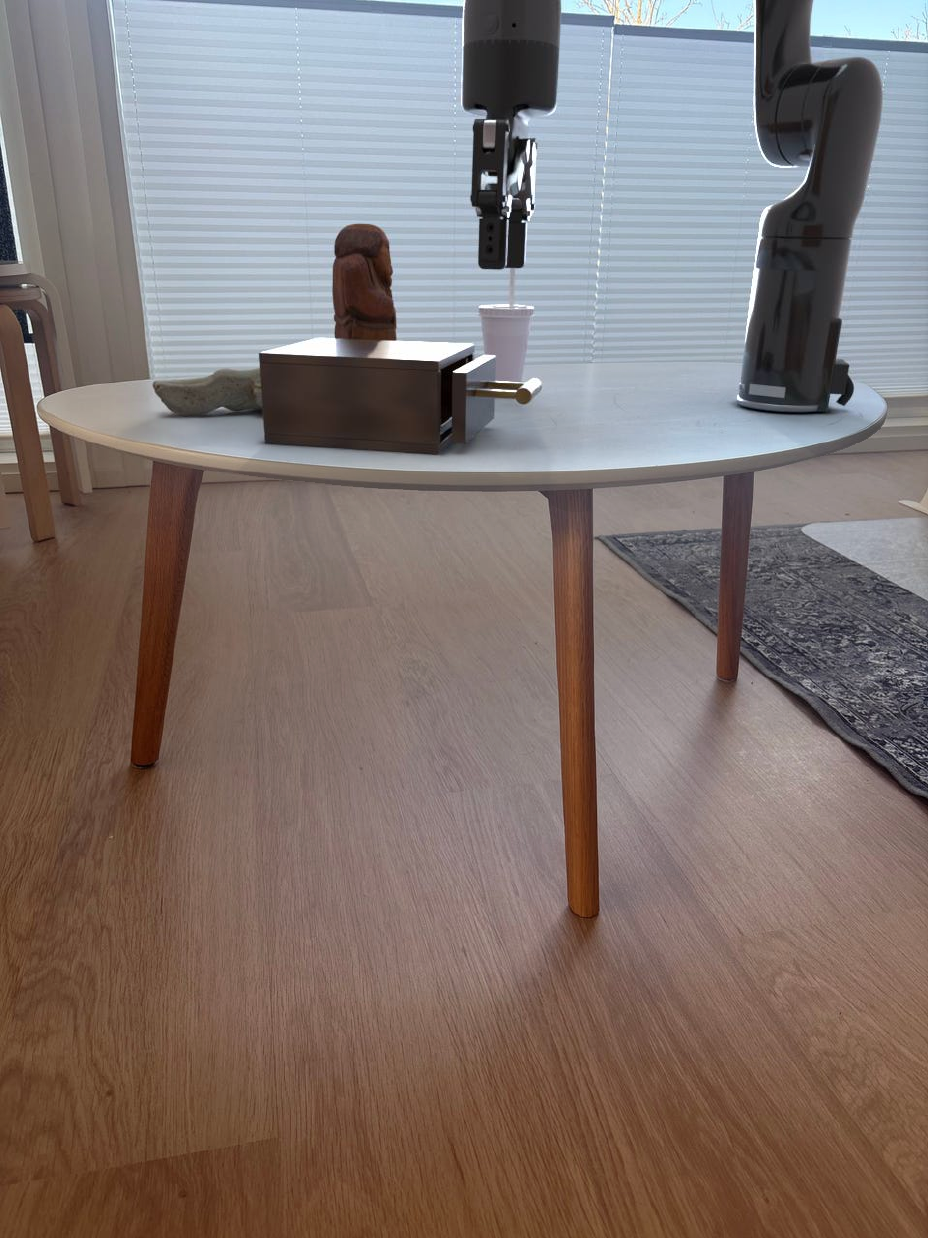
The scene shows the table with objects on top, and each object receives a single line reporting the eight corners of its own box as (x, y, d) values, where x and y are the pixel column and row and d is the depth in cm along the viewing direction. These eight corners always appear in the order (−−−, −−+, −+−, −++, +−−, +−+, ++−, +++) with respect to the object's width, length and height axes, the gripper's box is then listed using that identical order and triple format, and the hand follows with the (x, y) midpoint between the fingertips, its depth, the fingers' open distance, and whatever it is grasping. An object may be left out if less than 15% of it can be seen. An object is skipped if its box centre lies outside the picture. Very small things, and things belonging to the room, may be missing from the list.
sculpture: (160, 430, 89) (315, 411, 93) (150, 379, 88) (308, 362, 91) (159, 421, 96) (304, 404, 100) (150, 373, 94) (297, 357, 98)
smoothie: (527, 399, 105) (532, 266, 100) (471, 396, 106) (473, 265, 101) (534, 391, 111) (540, 265, 105) (481, 388, 112) (484, 264, 107)
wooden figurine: (406, 406, 100) (404, 223, 93) (347, 407, 98) (341, 222, 91) (385, 389, 110) (382, 224, 103) (331, 390, 108) (325, 223, 102)
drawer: (545, 421, 88) (548, 357, 85) (523, 447, 76) (526, 375, 74) (350, 410, 92) (348, 349, 89) (302, 433, 80) (298, 364, 78)
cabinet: (473, 425, 90) (474, 343, 87) (437, 454, 78) (438, 360, 75) (321, 416, 93) (317, 337, 90) (264, 442, 81) (258, 352, 78)
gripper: (544, 22, 65) (532, 271, 71) (571, 60, 77) (559, 268, 84) (440, 24, 66) (437, 268, 72) (483, 61, 79) (478, 266, 85)
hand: (502, 268), depth 78 cm, fingers open, 8 cm apart
